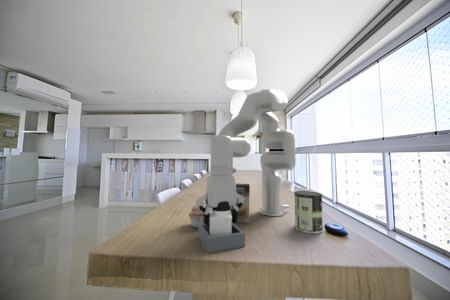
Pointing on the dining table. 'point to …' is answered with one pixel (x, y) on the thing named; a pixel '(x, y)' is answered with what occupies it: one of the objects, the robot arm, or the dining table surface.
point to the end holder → (221, 239)
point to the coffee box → (244, 209)
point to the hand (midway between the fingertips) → (220, 223)
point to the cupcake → (197, 215)
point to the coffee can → (308, 212)
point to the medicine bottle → (221, 220)
